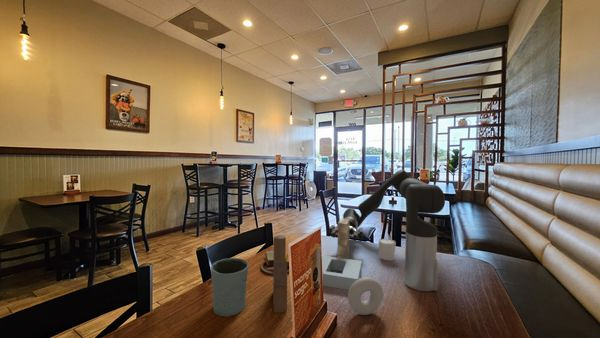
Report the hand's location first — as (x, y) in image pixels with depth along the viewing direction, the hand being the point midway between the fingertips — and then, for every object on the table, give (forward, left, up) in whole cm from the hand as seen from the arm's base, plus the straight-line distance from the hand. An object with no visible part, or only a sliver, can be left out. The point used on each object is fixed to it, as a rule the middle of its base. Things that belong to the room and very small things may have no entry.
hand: (343, 236), depth 103 cm
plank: (0, 0, -10) cm, 10 cm away
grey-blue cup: (+25, +44, -10) cm, 51 cm away
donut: (-11, +34, -10) cm, 37 cm away
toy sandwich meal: (+23, +16, -10) cm, 30 cm away
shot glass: (-17, -8, -10) cm, 21 cm away
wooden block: (+13, +36, -10) cm, 40 cm away
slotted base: (0, +16, -10) cm, 19 cm away
